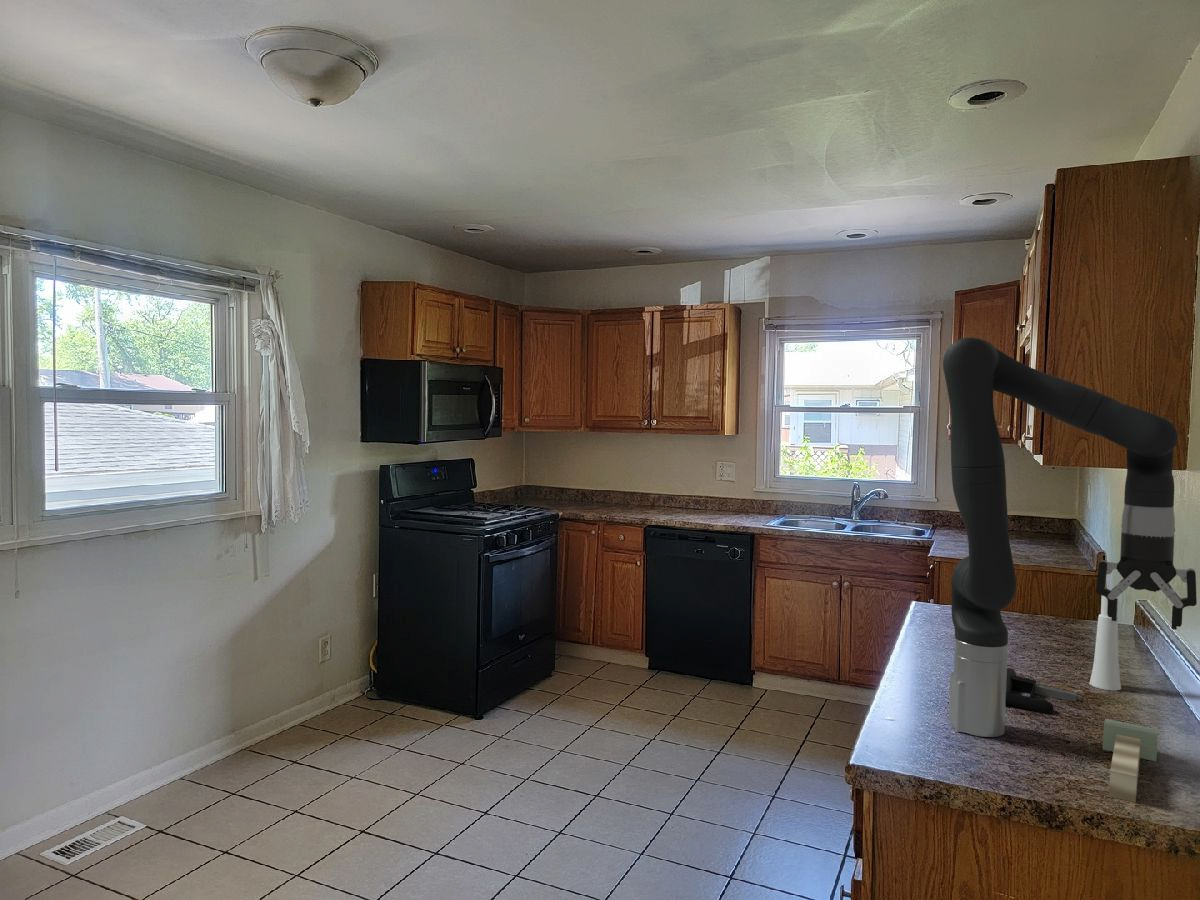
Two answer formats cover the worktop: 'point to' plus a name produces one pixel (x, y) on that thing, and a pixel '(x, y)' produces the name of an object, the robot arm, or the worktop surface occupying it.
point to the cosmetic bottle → (1106, 652)
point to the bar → (1125, 768)
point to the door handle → (1032, 693)
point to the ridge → (1135, 731)
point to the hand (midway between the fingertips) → (1143, 624)
